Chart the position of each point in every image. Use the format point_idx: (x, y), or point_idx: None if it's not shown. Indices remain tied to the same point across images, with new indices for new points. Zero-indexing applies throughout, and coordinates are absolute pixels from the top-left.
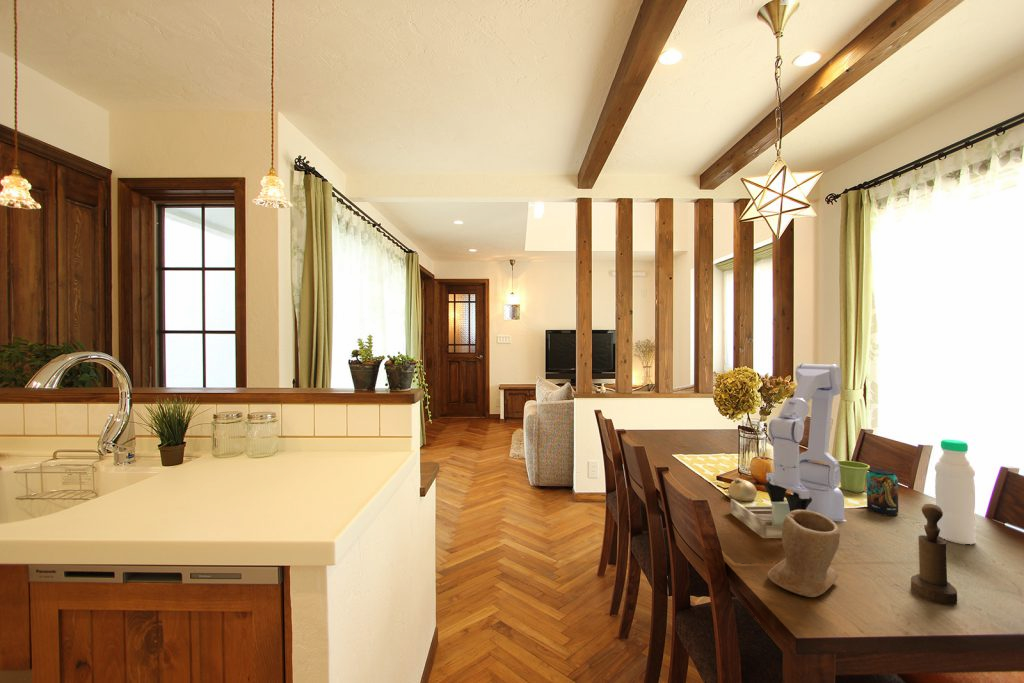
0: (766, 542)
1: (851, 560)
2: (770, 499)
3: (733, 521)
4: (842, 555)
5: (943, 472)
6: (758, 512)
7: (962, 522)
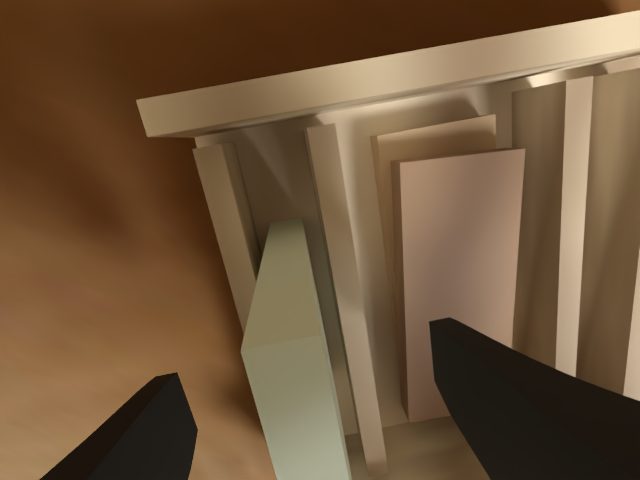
0: None
1: None
2: (536, 362)
3: (511, 9)
4: None
5: None
6: (549, 216)
7: None
